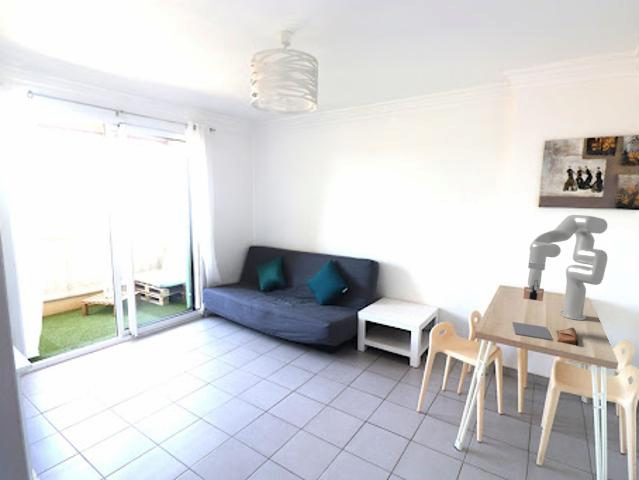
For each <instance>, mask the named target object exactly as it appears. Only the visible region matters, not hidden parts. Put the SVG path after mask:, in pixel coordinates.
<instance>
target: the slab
mask: <svg viewBox="0 0 639 480" xmlns="http://www.w3.org/2000/svg"><path fill="white" fill-rule="evenodd" d="M533 289H534V288H533ZM544 291H545V288H541V287H540V288H538V290H537V300H536V301H538V302H543V301H544ZM530 292H531V287H529V286H523V294H522V295H523V296H522V298H523V299H524V300H530Z"/></svg>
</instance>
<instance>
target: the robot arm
mask: <svg viewBox="0 0 639 480" xmlns="http://www.w3.org/2000/svg"><path fill="white" fill-rule="evenodd" d="M607 230H608V222H607V220H606V219H604V218H601V217H597V216H592V215H586V214H585V215H583V214H570V215H568V216H566V217H565V218H564V219H563V220H562V221H561V222H560V223H559V224H558V225H557V227H556V228H555V229H552V230H548V231H546V232H544V233H542V234H539V235H538V236H537V237H536V238H535V239H534V240H533V241H532V242H531V243H530V246H529V256H528V257H529V259H528V265H527V266H528V268H527V269H529V271H528V280H527V285H528V286H527V287H531V292H530V299H529V300H531V301H537V290H538V288H541V283H542V275H543V274H542V273H543V271H545V270H546V261H547V258H556V257H558V256H560V253H561V251H562V250H561V246H560V245H558V244H556V243H560V242H567V241H568V240H570V239H571V238H572V237H573V235H575V238H576V239H575V245H574V249H573V254H572V260H573V261H574V262H575V263H578V264H571V265H569V266H568V267H566V269H565V276H566V278H565V279H566V285H565V286H566V287H565V293H564V301H563V310H562V311H560V312H559V315H560V316H562V317H563V318H567V319H569V320H570V319H571V320H574V321H575V320H576V321H585V320H587V319H586V318H587V316H585V315H584V310H585V309H584V308H585V302H586V293H587V289H586V286H585V284H588V285H593V286H598V285H601V283H602V282H603V279H604V278H605V277H604V276H605V271H606V268H607V263H608V254H607V252H606V251H605V250H604V249H603V250H602V249H597V248H594V245H595V238H594V236H593V234H603V233H605V232H606V231H607ZM579 264H582V265H579ZM583 264H584V265H583ZM586 265H589V266H586ZM590 266H592V267H590ZM533 288H534V289H533Z"/></svg>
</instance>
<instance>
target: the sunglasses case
mask: <svg viewBox="0 0 639 480" xmlns="http://www.w3.org/2000/svg"><path fill="white" fill-rule="evenodd" d="M556 332H557V342H558V343H563V344H567V345H571V346H575V345H576V346H575V347H577V346H579V339H578V334H577V331H576V329H575V328H574V327H569V328H565V329H560V330H558V329H557V330H556Z"/></svg>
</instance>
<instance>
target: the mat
mask: <svg viewBox="0 0 639 480" xmlns="http://www.w3.org/2000/svg"><path fill="white" fill-rule="evenodd" d="M511 323H512V326H513V331H514V334H515V335H518V336H521V337H522V336H523V337H528V338H535V339H540V340H541V339H542V340H547V341H553V338H552V335H551V334H550V332H549V331H548V328H547V326H541V325H535V324H528V323H522V322H518V321H517V322H516V321H512V322H511Z"/></svg>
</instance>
